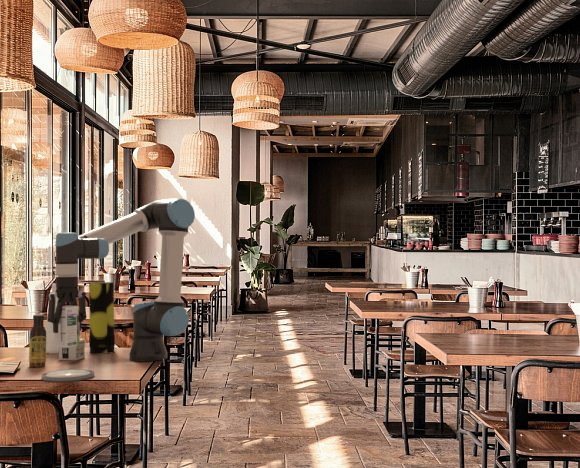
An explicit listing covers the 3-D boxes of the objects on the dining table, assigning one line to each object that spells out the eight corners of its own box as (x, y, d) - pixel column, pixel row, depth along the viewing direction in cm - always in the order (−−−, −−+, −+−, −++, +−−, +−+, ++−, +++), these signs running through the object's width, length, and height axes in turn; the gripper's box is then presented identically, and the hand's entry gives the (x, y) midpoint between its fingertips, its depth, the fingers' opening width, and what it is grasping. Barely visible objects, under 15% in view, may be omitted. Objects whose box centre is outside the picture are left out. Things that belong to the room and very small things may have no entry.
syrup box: (66, 348, 266) (66, 306, 266) (55, 347, 269) (55, 305, 270) (79, 346, 271) (79, 305, 271) (67, 345, 274) (67, 304, 274)
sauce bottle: (30, 368, 291) (29, 316, 291) (27, 365, 296) (27, 314, 297) (48, 366, 294) (47, 315, 294) (45, 364, 299) (44, 313, 300)
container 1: (76, 360, 309) (75, 328, 309) (58, 360, 310) (58, 328, 310) (85, 357, 316) (84, 326, 316) (67, 357, 318) (67, 326, 318)
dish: (99, 372, 279) (99, 368, 279) (86, 381, 261) (86, 377, 261) (50, 373, 279) (50, 369, 279) (34, 382, 261) (34, 378, 261)
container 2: (117, 350, 337) (116, 282, 337) (112, 353, 326) (111, 283, 326) (92, 350, 336) (91, 282, 337) (86, 354, 326) (85, 283, 326)
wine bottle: (71, 352, 331) (70, 283, 331) (49, 354, 326) (48, 284, 326) (64, 350, 339) (63, 282, 339) (42, 352, 333) (41, 283, 334)
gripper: (86, 274, 280) (86, 337, 280) (36, 276, 266) (36, 343, 266) (96, 275, 275) (97, 339, 274) (46, 277, 261) (46, 344, 261)
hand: (67, 341), depth 270 cm, fingers closed on syrup box, 6 cm apart
